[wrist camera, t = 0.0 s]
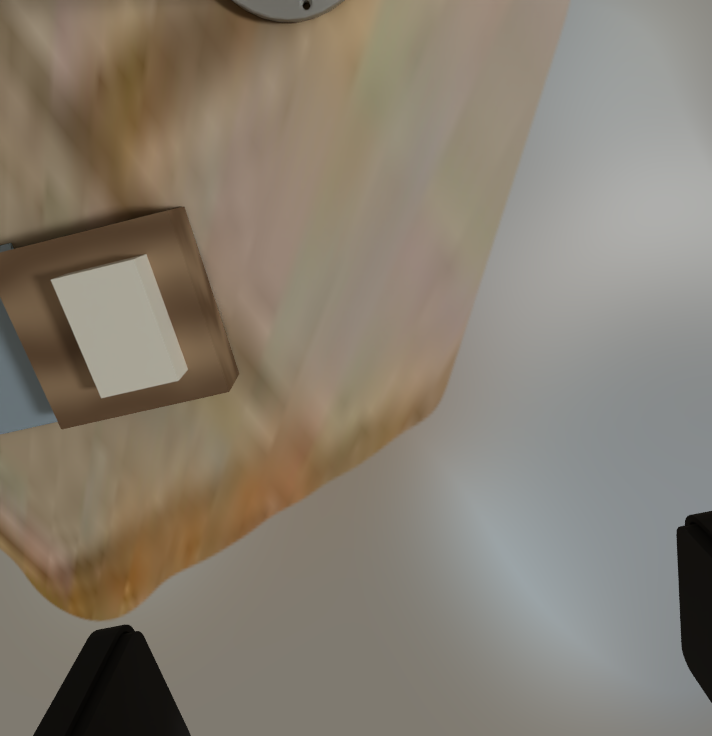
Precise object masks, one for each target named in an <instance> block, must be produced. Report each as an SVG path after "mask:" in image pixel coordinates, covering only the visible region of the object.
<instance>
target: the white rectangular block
mask: <svg viewBox="0 0 712 736" xmlns="http://www.w3.org/2000/svg"><path fill="white" fill-rule="evenodd" d="M51 282H52V284H53V287H54V289H55V291H56V294H57V296H58V298H59V301H60V303H61V305H62V308H63V310H64V312H65V315H66V317H67V319H68V322H69V324H70V326H71V329H72V331H73V333H74V336H75V338H76V340H77V343H78V345H79V347H80V350H81V352H82V355H83V357H84V359H85V362H86V364H87V366H88V369H89V371H90V373H91V376H92V378H93V380H94V383H95V385H96V387H97V390H98V392H99V394H100V397H101V398H105V397H109V396H114V395H118V394H123V393H127V392H131V391H136V390H140V389H145V388H149V387H153V386H158V385H162V384H167V383H171V382H175V381H179V380H180V379H181V377H182V376H183V375H184V374H185V373H186V371H187V370H188V368H187V365H186V362H185V360H184V357H183V354H182V351H181V348H180V346H179V343H178V340H177V337H176V335H175V332H174V329H173V326H172V324H171V321H170V318H169V315H168V313H167V310H166V307H165V304H164V301H163V299H162V296H161V293H160V290H159V288H158V285H157V282H156V279H155V277H154V274H153V271H152V268H151V266H150V263H149V260H148V257H147V254H144V255H140V256H136V257H132V258H128V259H124V260H120V261H116V262H112V263H108V264H104V265H100V266H96V267H92V268H88V269H84V270H79V271H75V272H71V273H67V274H65V275H62V276H59V277H57V278H54V279H51Z"/></svg>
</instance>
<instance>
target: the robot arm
mask: <svg viewBox="0 0 712 736" xmlns="http://www.w3.org/2000/svg"><path fill="white" fill-rule="evenodd" d="M232 1H233V2H234V3H236V4H237V5H239V6H240V7H241V8H243V9H244V10H246V11H248V12H250V13H252V14H254V15H256V16H259V17H261V18H264V19H268V20H272V21H277V22H300V21H305V20H310V19H314V18H316V17H319V16H321V15H323V14H325V13H327V12H329V11H331V10H332V9H334V8H335V7H336V6H338V5H339V4H341V3H342V2H343V1H345V0H232ZM304 3H309V4H310V8H309V9H308V10H305V9H304V8H303V5H304ZM677 555H678V576H679V597H680V598H679V600H680V621H681V642H682V651H683V655H684V658H685V661H686V663H687V665H688V667H689V669H690V671H691V672H692V674H693V676H694V677H695V679H696V680H697V682H698V683H699V685H700V686H701V688H702V689H703V690H704V692H705V693H706V695H707V696H708V698H709V700H710V701H711V702H712V511H709V512H704V513H699V514H694V515H689V516H687V518H686V520H685V526H681V527H678V529H677ZM33 736H191V735H190V733H189V730H188V728H187V726H186V724H185V722H184V720H183V718H182V716H181V714H180V711H179V709H178V707H177V705H176V703H175V701H174V699H173V697H172V695H171V692H170V690H169V688H168V686H167V684H166V682H165V680H164V678H163V676H162V674H161V671H160V669H159V667H158V665H157V663H156V661H155V659H154V657H153V654H152V652H151V650H150V648H149V646H148V644H147V642H146V640H145V638H144V636H143V634H142V633H141V632H139V631H136V632H135V631H134V629H133V628H132V627H131V626H130V625H121V626H116V627H111V628H105V629H100V630H96V631H94V632H93V633H92V634H91V635H90V636H89V638H88V639H87V641H86V643H85V645H84V646H83V648H82V650H81V652H80V653H79V655H78V657H77V659H76V661H75V662H74V664H73V666H72V668H71V669H70V671H69V673H68V675H67V677H66V678H65V680H64V682H63V684H62V685H61V687H60V689H59V691H58V692H57V694H56V696H55V698H54V700H53V701H52V703H51V705H50V707H49V709H48V710H47V712H46V714H45V715H44V717H43V719H42V721H41V723H40V724H39V726H38V728H37V730H36V731H35V733H34V735H33Z"/></svg>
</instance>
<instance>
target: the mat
mask: <svg viewBox="0 0 712 736" xmlns="http://www.w3.org/2000/svg"><path fill="white" fill-rule="evenodd" d="M12 249H14V248H13V246H12V244H11V243H9V244H5V245H1V246H0V252H4V251H8V250H12ZM53 422H58V421H57V419H56V417H55V415H54V412H53V410H52V408H51V406H50V404H49V402H48V399H47V397H46V395H45V393H44V391H43V389H42V386H41V384H40V382H39V380H38V378H37V376H36V373H35V371H34V369H33V367H32V365H31V363H30V361H29V358H28V356H27V354H26V352H25V350H24V348H23V345H22V343H21V341H20V339H19V337H18V335H17V332H16V330H15V328H14V326H13V324H12V322H11V320H10V317H9V315H8V313H7V311H6V309H5V307H4V304H3V302H2V300H1V298H0V434H4V433H9V432H13V431H18V430H22V429H27V428H31V427H36V426H40V425H44V424H49V423H53Z"/></svg>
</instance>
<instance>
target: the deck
mask: <svg viewBox="0 0 712 736" xmlns="http://www.w3.org/2000/svg"><path fill="white" fill-rule="evenodd" d="M144 254H147V257H148V260H149V263H150V266H151V268H152V271H153V274H154V277H155V279H156V282H157V285H158V288H159V290H160V293H161V296H162V299H163V301H164V304H165V307H166V310H167V313H168V315H169V318H170V321H171V324H172V326H173V329H174V332H175V335H176V337H177V340H178V343H179V346H180V348H181V351H182V354H183V357H184V360H185V362H186V365H187V368H188V370H187V371H186V373H185V374H184V375H183V376H182V377H181V379H180V380H179V381H175V382H171V383H167V384H162V385H158V386H153V387H149V388H145V389H140V390H136V391H131V392H127V393H123V394H118V395H114V396H109V397H105V398H101V397H100V394H99V392H98V390H97V387H96V385H95V383H94V380H93V378H92V376H91V373H90V371H89V369H88V366H87V364H86V362H85V359H84V357H83V355H82V352H81V350H80V347H79V345H78V343H77V340H76V338H75V336H74V333H73V331H72V329H71V326H70V324H69V322H68V319H67V317H66V315H65V312H64V310H63V308H62V305H61V303H60V301H59V298H58V296H57V294H56V291H55V289H54V287H53V284H52V282H51V279H54V278H57V277H59V276H62V275H65V274H67V273H71V272H75V271H79V270H84V269H88V268H92V267H96V266H100V265H104V264H108V263H112V262H116V261H120V260H124V259H128V258H132V257H136V256H140V255H144ZM0 298H1V300H2V302H3V304H4V307H5V309H6V311H7V313H8V315H9V317H10V320H11V322H12V324H13V326H14V328H15V330H16V332H17V335H18V337H19V339H20V341H21V343H22V345H23V348H24V350H25V352H26V354H27V356H28V358H29V361H30V363H31V365H32V367H33V369H34V371H35V373H36V376H37V378H38V380H39V382H40V384H41V386H42V389H43V391H44V393H45V395H46V397H47V399H48V402H49V404H50V406H51V408H52V410H53V412H54V415H55V417H56V419H57V421H58V423H59V425H60V427H61V429H65V428H70V427H74V426H79V425H83V424H87V423H92V422H96V421H101V420H105V419H110V418H114V417H119V416H123V415H128V414H132V413H137V412H141V411H146V410H150V409H154V408H159V407H163V406H168V405H172V404H177V403H181V402H186V401H190V400H195V399H199V398H204V397H208V396H213V395H217V394H221V393H226V392H229V391H230V389H231V388H232V386H233V384H234V382H235V380H236V379H237V377H238V375H239V372H238V369H237V366H236V363H235V360H234V356H233V353H232V350H231V347H230V344H229V341H228V338H227V335H226V332H225V329H224V326H223V323H222V320H221V317H220V314H219V311H218V308H217V305H216V302H215V299H214V296H213V293H212V290H211V287H210V284H209V281H208V277H207V274H206V271H205V268H204V265H203V262H202V259H201V256H200V253H199V250H198V247H197V244H196V241H195V238H194V235H193V232H192V229H191V226H190V223H189V220H188V217H187V214H186V211H185V208H184V207H180V208H175V209H171V210H167V211H163V212H159V213H155V214H151V215H147V216H143V217H139V218H135V219H131V220H127V221H123V222H119V223H115V224H111V225H107V226H103V227H99V228H95V229H91V230H87V231H83V232H79V233H75V234H71V235H67V236H63V237H59V238H55V239H51V240H47V241H44V242H40V243H36V244H32V245H28V246H24V247H20V248H16V249H12V250H8V251H4V252H0Z"/></svg>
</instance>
